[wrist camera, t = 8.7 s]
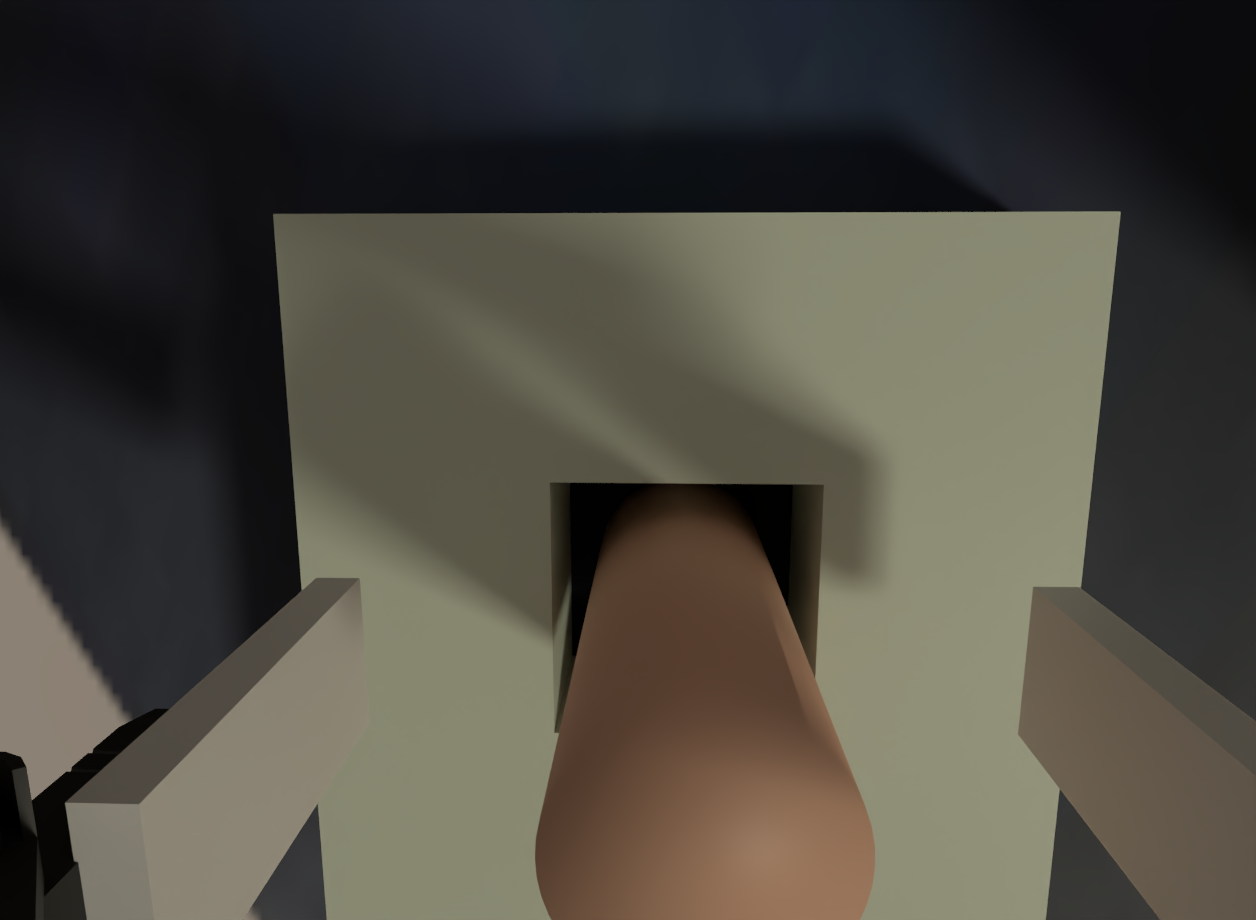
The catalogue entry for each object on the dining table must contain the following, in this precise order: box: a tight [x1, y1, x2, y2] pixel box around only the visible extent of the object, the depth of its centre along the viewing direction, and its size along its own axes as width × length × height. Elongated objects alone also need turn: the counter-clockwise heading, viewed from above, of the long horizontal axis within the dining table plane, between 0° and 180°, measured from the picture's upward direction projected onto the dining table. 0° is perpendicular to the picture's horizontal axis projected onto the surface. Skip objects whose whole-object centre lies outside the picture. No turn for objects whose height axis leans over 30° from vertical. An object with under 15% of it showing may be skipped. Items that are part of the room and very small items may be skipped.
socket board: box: [273, 212, 1121, 920], centre depth 20 cm, size 16×16×4 cm
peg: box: [535, 483, 875, 920], centre depth 16 cm, size 4×4×12 cm
